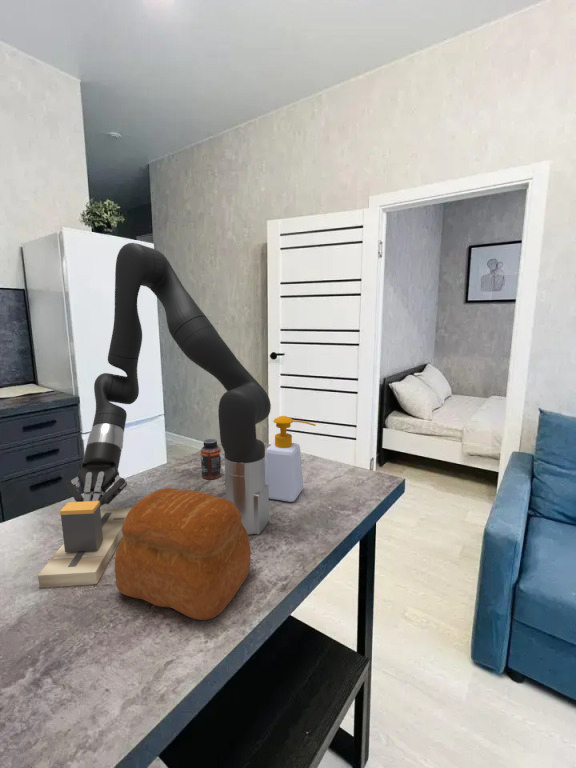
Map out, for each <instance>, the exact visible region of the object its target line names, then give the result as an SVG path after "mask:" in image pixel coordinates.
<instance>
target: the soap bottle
mask: <svg viewBox="0 0 576 768" xmlns="http://www.w3.org/2000/svg"><path fill="white" fill-rule="evenodd" d="M273 423H275V427H276V428H278V429H279V431H280V432H278V433H276V434H275V435H274V442H273V443H272V444H271V445H269V446H268V447H267V449H266V450H265V484H267V485H268V486H269V499H271V500H277V501H283V502H289V503H291V502H295V501H296V500H297V498H298V496H299V495H300V494H301V492H302V491H303V489H304V480H303V466H302V454H301V447H300V444H299V443H297V442H296V443H295V442H292V441H293V440H292V439H293V435H292V434H291V433H288V432H287V429H289V428H290V427H291V424H292V423H300V424H301V423H302V424H306V425H310V426H314V427H316V425H317V424H316V423H312V422H310V421H303V420H297V419H293V418H292V417H289V416H287V415H281V416H278V417H275V418H274V419H273Z"/></svg>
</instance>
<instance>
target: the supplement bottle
mask: <svg viewBox="0 0 576 768" xmlns="http://www.w3.org/2000/svg"><path fill="white" fill-rule="evenodd" d="M200 463H201V464H200V466H201V468H200V469H201V477H202V478H203V479H206V480H215V479H218V478H220V477H221V476H222V456H221V448H220V446H218V440H217V439H215V438H207V439H205V440H203V446H202V447H201V449H200Z"/></svg>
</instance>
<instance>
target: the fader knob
mask: <svg viewBox="0 0 576 768" xmlns="http://www.w3.org/2000/svg"><path fill="white" fill-rule="evenodd" d="M100 509H101V507H100V501H85V502H76V501H70V502H69V501H68V502H67V503H66V504H65V505H64V506H63V507H62V508H61V510H59V514H60V515H59V516H60V519H61V529H62V538H63V539H62V540H63V543H64V548H65V552H77V551H95V550H97V549H98V548H99V546H100V544H101V543H102V541H103V534H102V523H101V512H100Z"/></svg>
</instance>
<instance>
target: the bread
mask: <svg viewBox="0 0 576 768" xmlns="http://www.w3.org/2000/svg"><path fill="white" fill-rule="evenodd" d="M131 508H132V509H131V510H130V511H129V512H128V514H127V516H126V519H125V521H124V523H123V527H122V532H123V537H122V539H121V541H120V543H119V545H118V546H117V548H116V550H115V555H114V556H115V557H114V572H115V573H114V575H115V585H116V588H117V590H118V591H119V592H120V593H121V594H123V595H125V596H127V597H130V598H132V599H133V598H134V599H140V600H144V601H146V602H147V603H150V604H152V605H154V606H156V607H162V608H172V609H173V610H175V611H177V612H178V613H181V614H182V615H184V616H187V617H189V618H191V619H192V620H198V621H199V620H200V621H205V620H211V619H213V618H215V617H217V616H219V615H221V613H223V611H224V610H225V608H226V607H227V606H228V605H229V603H230V602H231V601H232V600H233V598H234V597H235V595H236V593H237V592H238V591H239V589H240V588H241V586H243V583H244V582H245V581H246V579H247V577H248V576H249V572H250V567H251V554H252V553H251V544H250V538H249V535H248V533H247V531H246V529H245V528H244V526H243V524H242V522H241V519H242V515H241V513H240V511H239V510H238V509H237V507H236V506H235V505H234V504H233V503H232V502H231V501H229V500H227V499H226V498H222V497H217V496H215V495H212V494H209V493H207V492H202V491H197V490H191V489H188V490H180V489H177V488H171V487H166V488H161V489H159V490H155V491H153V492H151V493H150V494H147V495H145V497H143V498H141V500H139V501H137V502H136V503H135V504H134V505H133V506H132V507H131Z"/></svg>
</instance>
